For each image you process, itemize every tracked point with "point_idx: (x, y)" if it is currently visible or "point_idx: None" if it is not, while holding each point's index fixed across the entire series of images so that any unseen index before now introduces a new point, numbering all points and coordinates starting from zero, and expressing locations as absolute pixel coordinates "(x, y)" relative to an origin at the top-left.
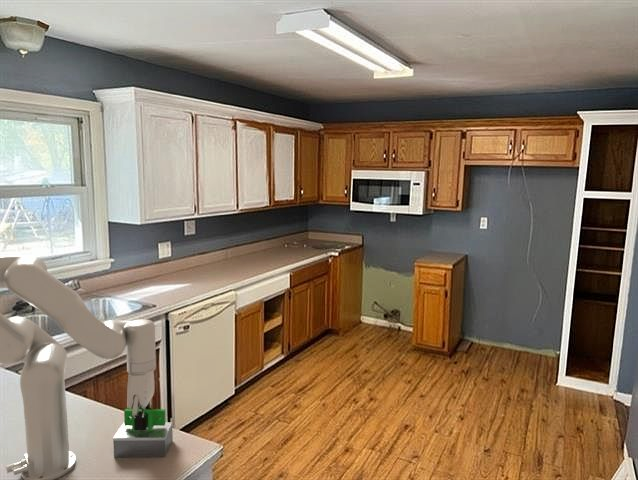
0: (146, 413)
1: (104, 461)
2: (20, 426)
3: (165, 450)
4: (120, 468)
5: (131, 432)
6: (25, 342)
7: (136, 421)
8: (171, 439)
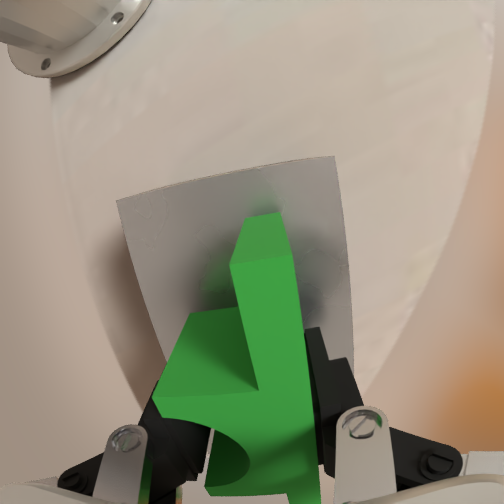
0: (247, 467)
1: (133, 159)
2: None
3: None
4: (111, 257)
5: (204, 291)
6: None
7: (143, 415)
8: None
